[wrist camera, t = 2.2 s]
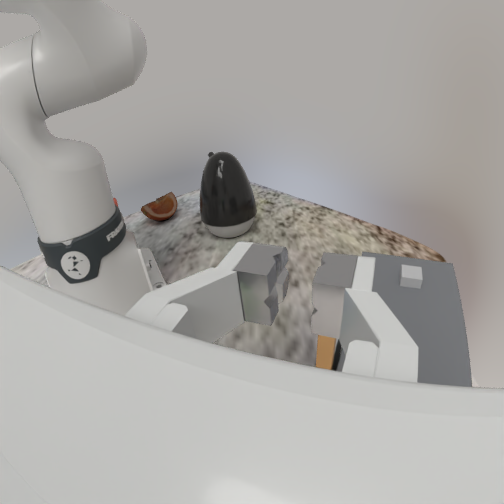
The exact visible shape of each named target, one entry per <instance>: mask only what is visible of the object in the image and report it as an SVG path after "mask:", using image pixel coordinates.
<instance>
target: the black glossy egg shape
mask: <svg viewBox="0 0 504 504" xmlns="http://www.w3.org/2000/svg"><path fill="white" fill-rule="evenodd" d="M208 156H209V160H208V161H207V163H206V166H205V168H204V171H203V176H202V181H201V190H200V215H201V220H202V221H203V222H204V224H205V226H206V227H207V229H208V230H209V231H210V232H211V233H212V234H214V235H216V236H219V237H223V238H232V237H237V236H239V235H242V234H244V233H245V232H246V231H248V230H249V229H250V227H251V226H252V224H253V222H254V218H255V215H256V212H257V209H256V203H255V199H254V195H253V191H252V188H251V186H250V183H249V180H248V178H247V176H246V173H245V171H244V169H243V167H242V166H241V164H240V163H239V161H238V160H237V159H236V158H235V157H234V156H233V155H232V154H230V153H227V152H218V153H215V154H214V153H213V152H210V153H209V154H208Z"/></svg>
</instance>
